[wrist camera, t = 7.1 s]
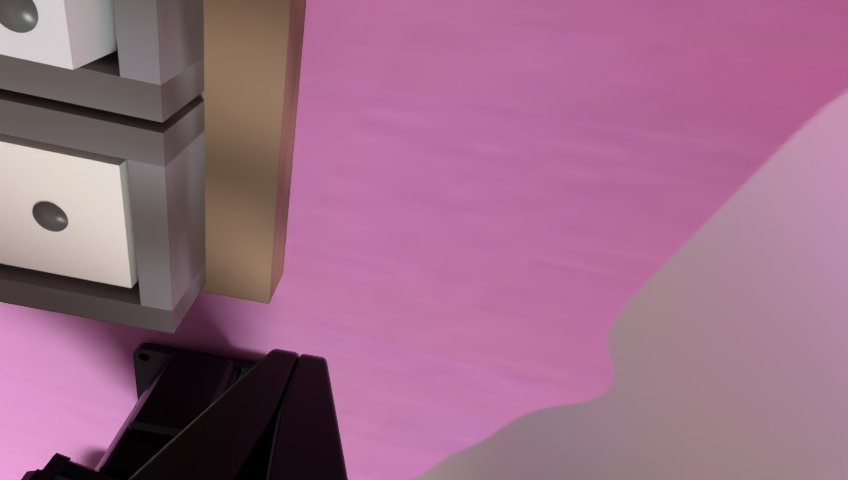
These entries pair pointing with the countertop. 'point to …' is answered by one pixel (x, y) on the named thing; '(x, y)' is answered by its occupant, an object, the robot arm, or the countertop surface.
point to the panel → (175, 151)
